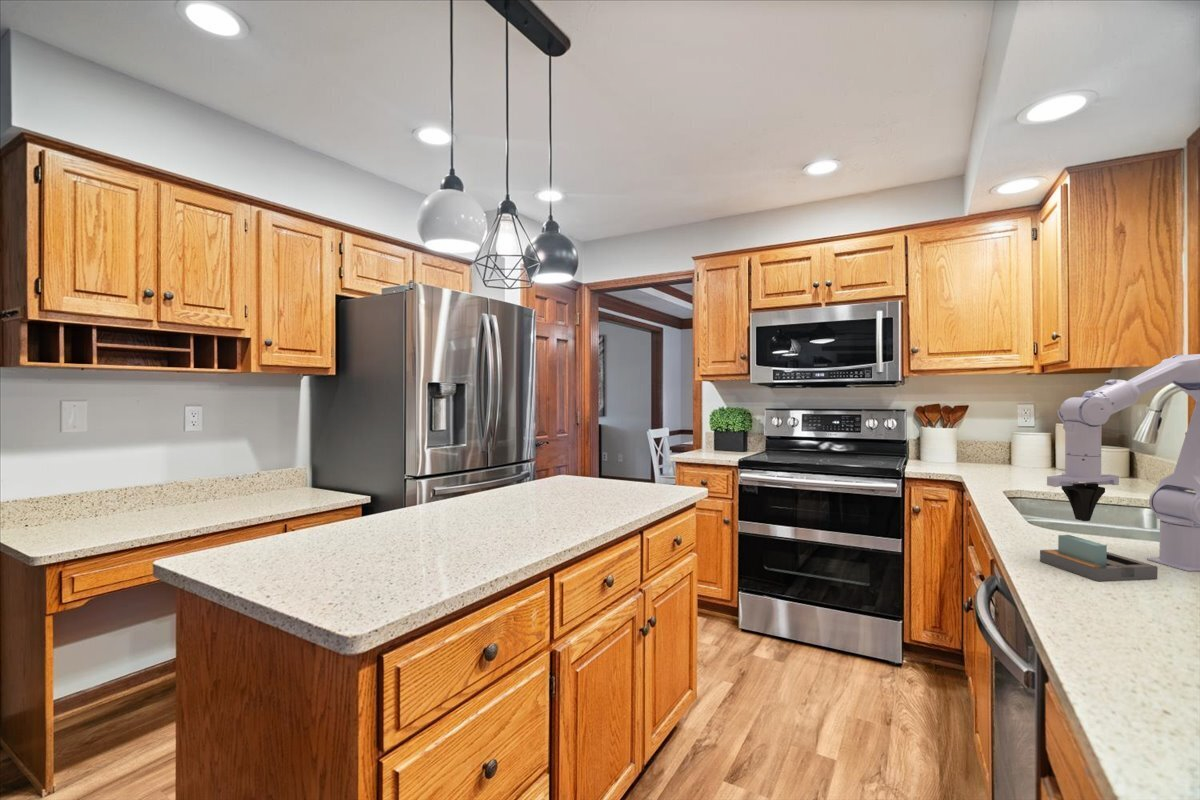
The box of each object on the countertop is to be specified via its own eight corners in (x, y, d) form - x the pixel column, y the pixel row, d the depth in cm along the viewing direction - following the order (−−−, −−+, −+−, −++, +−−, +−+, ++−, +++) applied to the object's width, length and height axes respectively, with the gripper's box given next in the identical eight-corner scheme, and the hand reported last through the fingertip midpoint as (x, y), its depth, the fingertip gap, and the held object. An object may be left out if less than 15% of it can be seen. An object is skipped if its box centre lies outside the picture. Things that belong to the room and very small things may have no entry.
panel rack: (1094, 559, 121) (1094, 546, 121) (1157, 578, 109) (1157, 565, 108) (1039, 561, 120) (1040, 548, 120) (1097, 581, 107) (1097, 567, 107)
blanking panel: (1068, 561, 118) (1068, 534, 118) (1106, 573, 110) (1106, 545, 110) (1058, 561, 118) (1058, 535, 118) (1095, 573, 110) (1095, 545, 110)
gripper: (1095, 452, 122) (1095, 514, 122) (1034, 453, 120) (1034, 516, 121) (1129, 455, 115) (1129, 522, 115) (1064, 457, 113) (1064, 524, 114)
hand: (1082, 520), depth 117 cm, fingers closed
